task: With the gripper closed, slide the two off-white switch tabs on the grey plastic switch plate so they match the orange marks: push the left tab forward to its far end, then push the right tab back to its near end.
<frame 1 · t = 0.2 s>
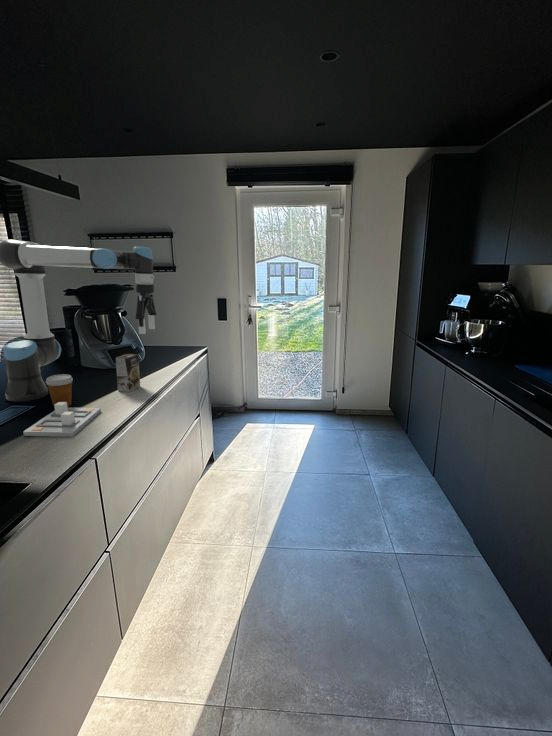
hand: (147, 331, 162), 28 cm above the counter, fingers open, 13 cm apart
disposable coffee cup: (62, 405, 146), on the counter
switch plate: (65, 422, 130), on the counter
coffee box: (129, 389, 169), on the counter
tab B: (67, 418, 125), point 4 cm above the counter, slide at 7.0 cm
tab A: (61, 408, 133), point 4 cm above the counter, slide at 0.0 cm
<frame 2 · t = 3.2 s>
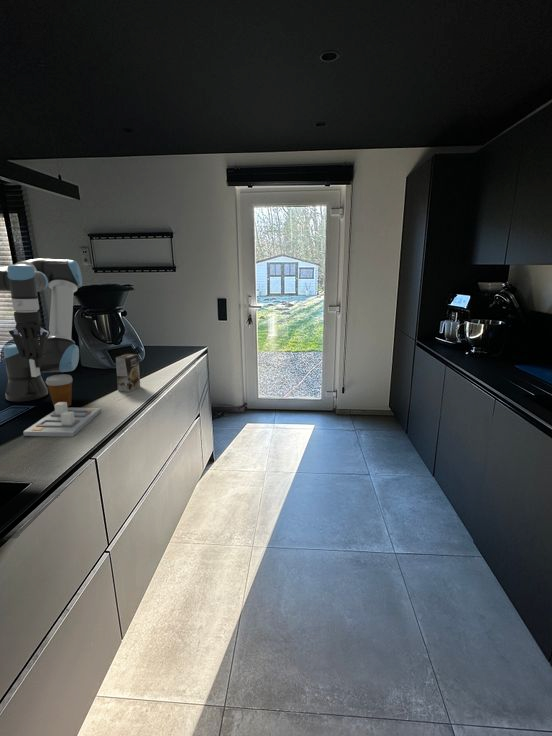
hand: (36, 375, 130), 16 cm above the counter, fingers closed
nothing on the counter moved.
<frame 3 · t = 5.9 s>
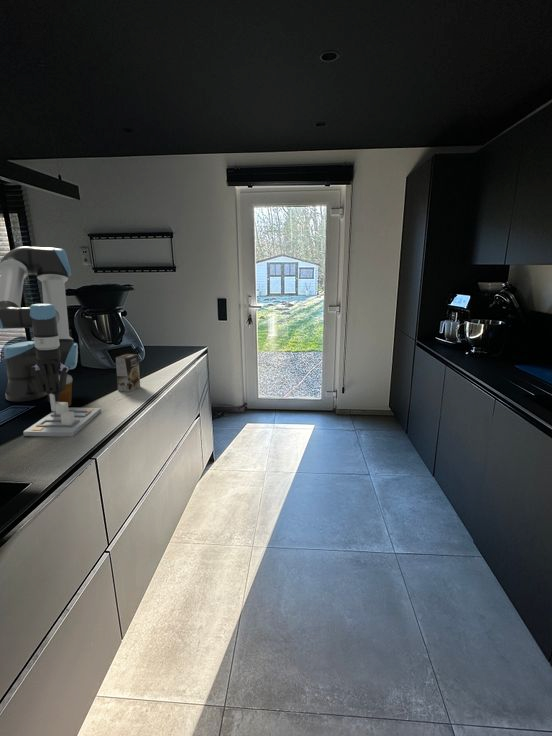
hand: (55, 409, 133), 3 cm above the counter, fingers closed
tab A: (62, 408, 133), point 4 cm above the counter, slide at 0.3 cm, touching gripper
everything else where it was.
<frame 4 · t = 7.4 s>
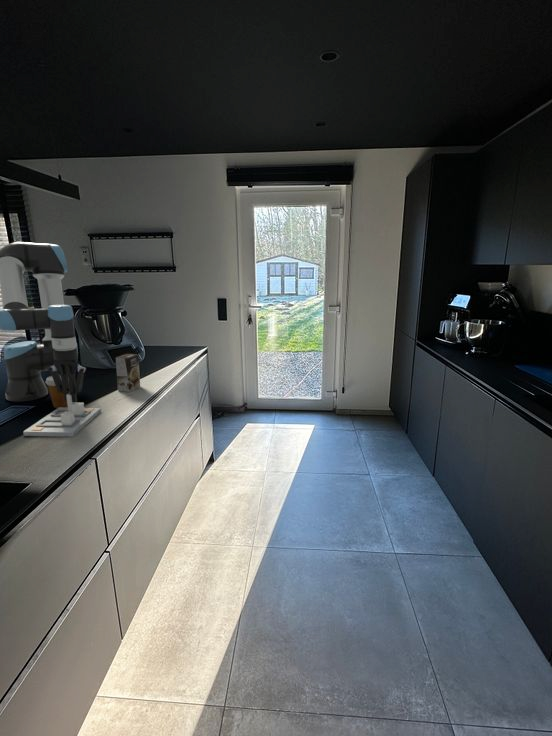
hand: (72, 409, 134), 3 cm above the counter, fingers closed
tab A: (78, 408, 134), point 4 cm above the counter, slide at 6.2 cm, touching gripper
everything else where it was.
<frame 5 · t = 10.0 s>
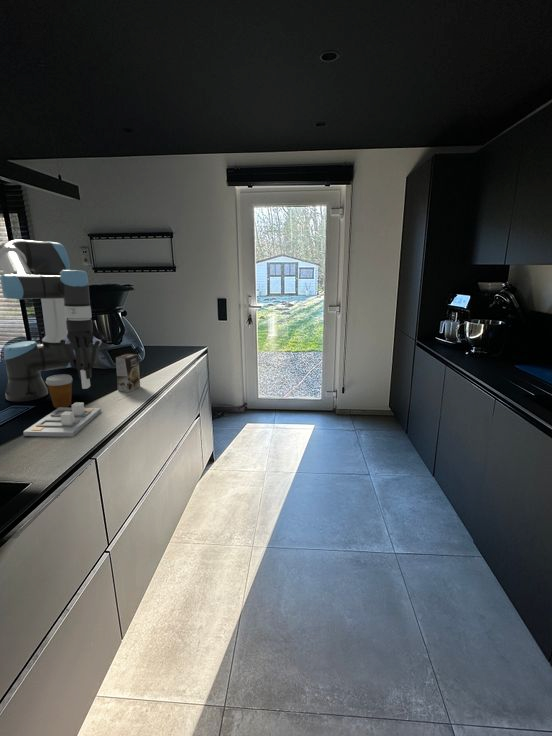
hand: (86, 387, 122), 15 cm above the counter, fingers closed
tab A: (78, 408, 134), point 4 cm above the counter, slide at 6.2 cm
everything else where it was.
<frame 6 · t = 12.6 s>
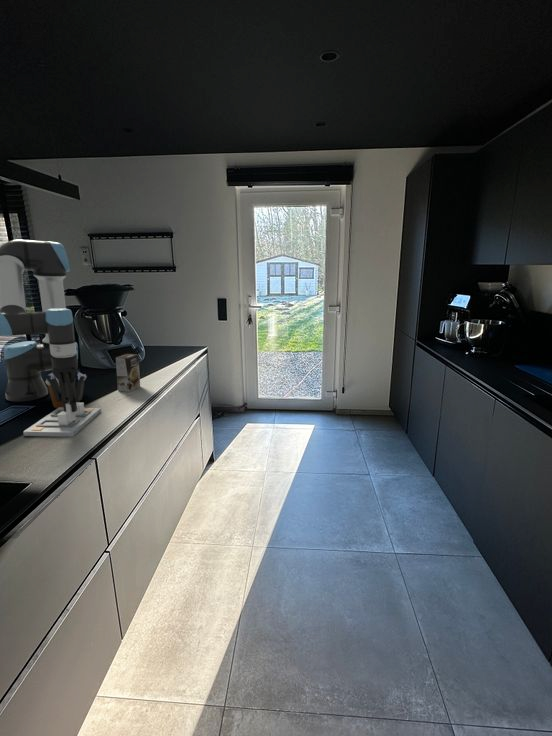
hand: (71, 420, 125), 3 cm above the counter, fingers closed
tab B: (64, 418, 125), point 4 cm above the counter, slide at 5.9 cm, touching gripper
everything else where it was.
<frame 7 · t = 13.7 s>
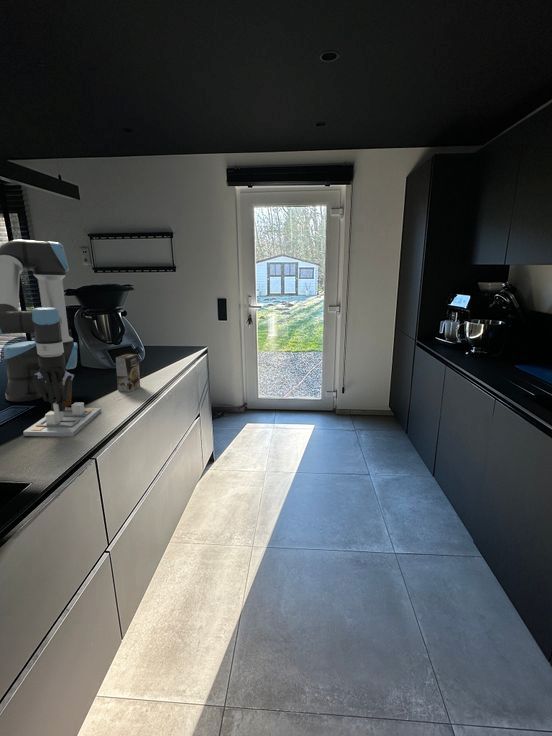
hand: (59, 419, 125), 3 cm above the counter, fingers closed
tab B: (52, 418, 125), point 4 cm above the counter, slide at 1.8 cm, touching gripper
everything else where it was.
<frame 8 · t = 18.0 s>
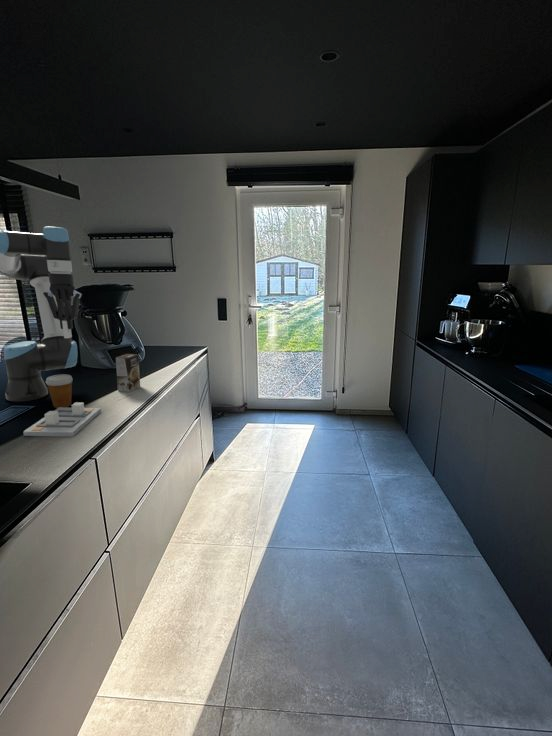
hand: (68, 337, 134), 29 cm above the counter, fingers closed
tab B: (52, 418, 125), point 4 cm above the counter, slide at 1.6 cm
everything else where it was.
at the end: tab A slide at 6.2 cm; tab B slide at 1.6 cm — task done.
